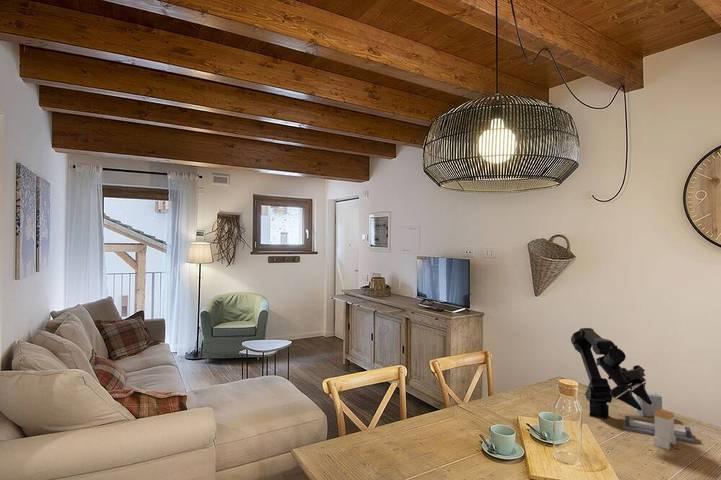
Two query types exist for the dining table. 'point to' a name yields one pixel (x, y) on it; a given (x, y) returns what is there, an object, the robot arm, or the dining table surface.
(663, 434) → the white upright block
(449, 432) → the dining table surface
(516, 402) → the dining table surface
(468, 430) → the dining table surface
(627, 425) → the board
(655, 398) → the medicine box
